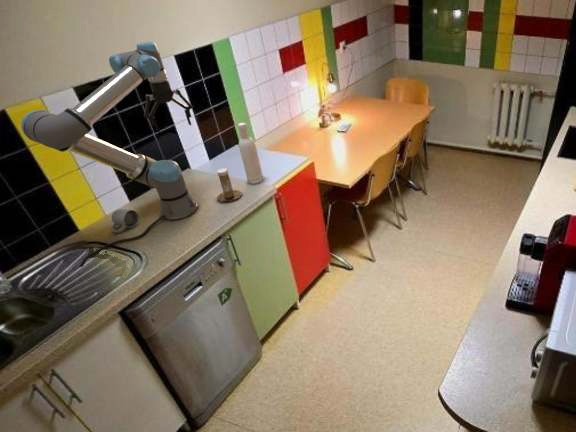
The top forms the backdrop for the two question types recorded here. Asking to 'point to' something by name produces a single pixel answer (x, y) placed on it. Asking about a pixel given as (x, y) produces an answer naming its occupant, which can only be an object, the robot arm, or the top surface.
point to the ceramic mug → (124, 219)
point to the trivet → (235, 197)
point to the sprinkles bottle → (225, 182)
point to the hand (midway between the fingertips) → (174, 128)
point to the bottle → (249, 156)
